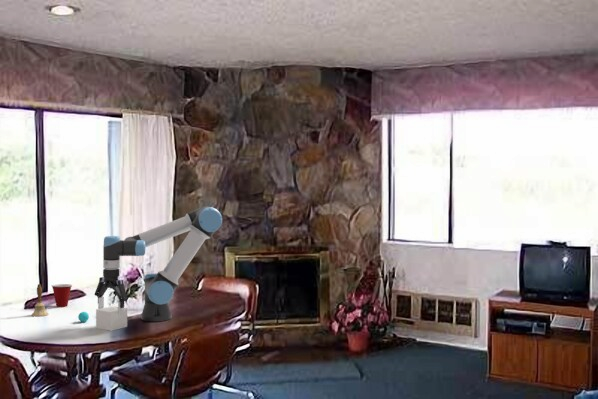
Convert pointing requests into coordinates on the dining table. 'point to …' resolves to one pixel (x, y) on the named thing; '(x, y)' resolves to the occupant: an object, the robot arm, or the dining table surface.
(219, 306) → the dining table surface
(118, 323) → the white box
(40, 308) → the hand bell
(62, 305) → the plastic cup
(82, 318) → the ball
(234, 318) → the dining table surface
